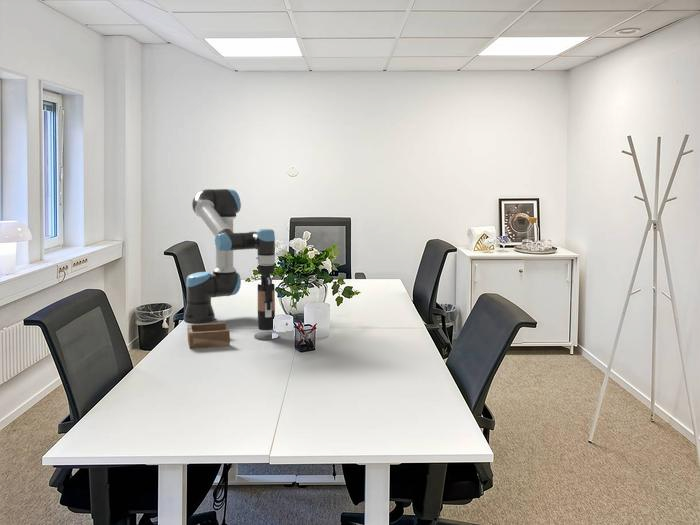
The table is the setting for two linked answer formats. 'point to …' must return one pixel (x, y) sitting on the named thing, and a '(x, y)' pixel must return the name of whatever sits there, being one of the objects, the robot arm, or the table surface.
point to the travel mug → (263, 321)
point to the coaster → (263, 336)
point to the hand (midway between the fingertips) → (266, 314)
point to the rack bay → (208, 335)
